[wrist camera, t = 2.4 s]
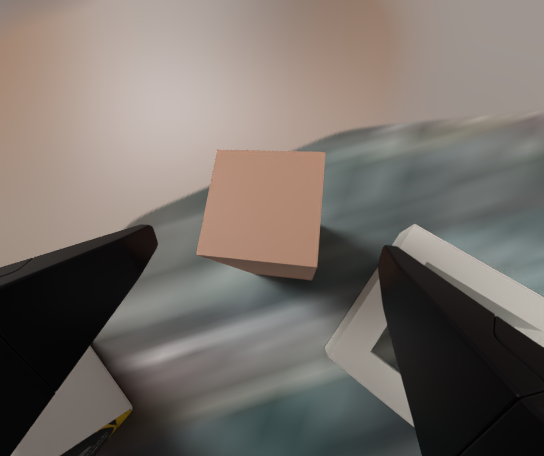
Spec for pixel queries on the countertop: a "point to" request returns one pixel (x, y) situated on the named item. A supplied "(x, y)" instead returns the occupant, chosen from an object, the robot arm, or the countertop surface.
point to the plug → (264, 212)
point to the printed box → (78, 413)
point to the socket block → (456, 270)
